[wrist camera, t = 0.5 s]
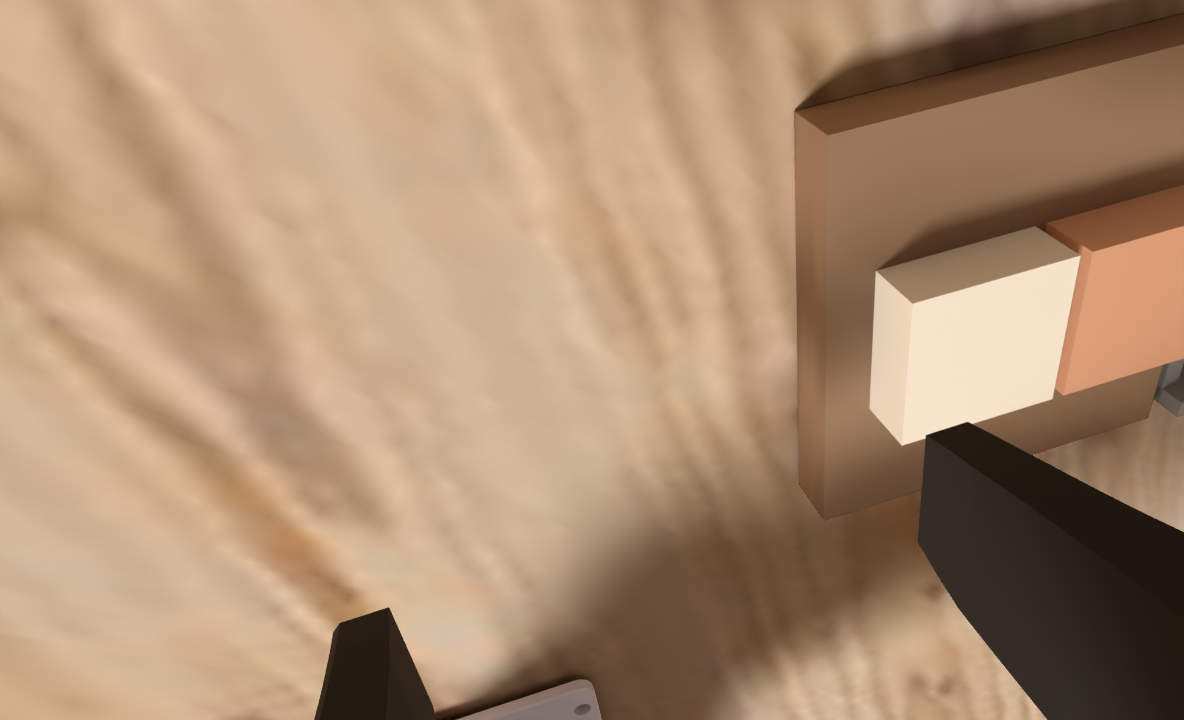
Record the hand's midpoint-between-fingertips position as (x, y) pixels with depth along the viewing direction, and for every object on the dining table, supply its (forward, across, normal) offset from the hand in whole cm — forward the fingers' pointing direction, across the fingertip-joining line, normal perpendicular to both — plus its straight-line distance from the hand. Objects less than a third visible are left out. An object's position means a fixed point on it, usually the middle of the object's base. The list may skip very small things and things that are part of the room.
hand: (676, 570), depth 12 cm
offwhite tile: (+8, -9, +4) cm, 13 cm away
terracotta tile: (+8, -14, +4) cm, 16 cm away
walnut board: (+10, -11, +4) cm, 15 cm away
